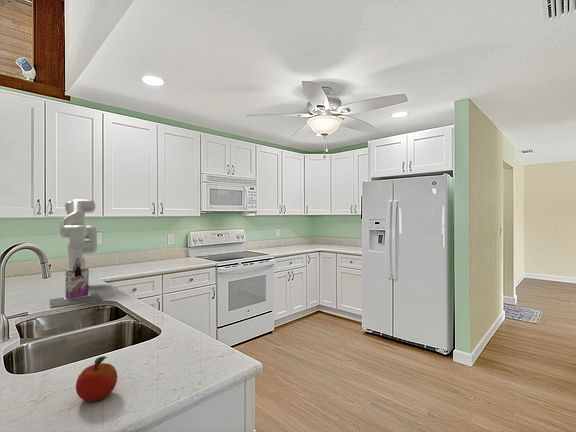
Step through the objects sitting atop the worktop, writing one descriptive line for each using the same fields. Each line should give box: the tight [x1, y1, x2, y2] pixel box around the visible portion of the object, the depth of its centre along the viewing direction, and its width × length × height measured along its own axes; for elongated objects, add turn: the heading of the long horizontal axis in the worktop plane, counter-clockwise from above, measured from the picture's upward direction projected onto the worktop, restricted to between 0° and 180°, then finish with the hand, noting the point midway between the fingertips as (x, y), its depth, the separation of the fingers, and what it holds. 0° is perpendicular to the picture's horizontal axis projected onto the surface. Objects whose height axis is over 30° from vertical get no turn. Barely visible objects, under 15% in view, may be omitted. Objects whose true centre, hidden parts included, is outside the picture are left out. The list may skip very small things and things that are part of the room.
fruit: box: [75, 356, 118, 403], centre depth 82 cm, size 10×10×10 cm
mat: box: [49, 292, 103, 309], centre depth 178 cm, size 20×24×1 cm
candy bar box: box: [64, 267, 89, 298], centre depth 184 cm, size 11×5×16 cm, turn 133°
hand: (77, 274), depth 184 cm, fingers open, 9 cm apart
